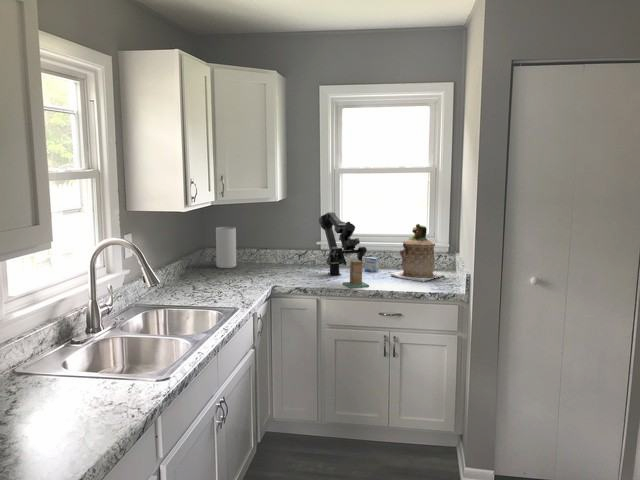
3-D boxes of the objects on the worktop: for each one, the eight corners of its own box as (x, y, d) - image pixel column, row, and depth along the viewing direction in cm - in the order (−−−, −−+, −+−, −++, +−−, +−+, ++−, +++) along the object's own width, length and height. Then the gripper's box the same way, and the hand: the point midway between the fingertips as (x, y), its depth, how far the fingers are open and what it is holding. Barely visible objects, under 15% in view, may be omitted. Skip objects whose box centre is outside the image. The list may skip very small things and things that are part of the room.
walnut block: (349, 282, 302) (350, 260, 300) (358, 282, 304) (358, 260, 302) (353, 284, 297) (353, 262, 296) (361, 284, 299) (362, 261, 297)
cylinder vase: (213, 268, 346) (212, 228, 343) (220, 264, 359) (219, 226, 355) (232, 268, 344) (232, 229, 341) (238, 265, 357) (238, 227, 353)
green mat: (342, 283, 304) (342, 282, 304) (360, 282, 308) (360, 280, 308) (350, 288, 294) (350, 286, 294) (369, 286, 298) (369, 285, 297)
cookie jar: (446, 276, 326) (448, 223, 322) (423, 283, 309) (425, 226, 304) (411, 270, 343) (413, 220, 339) (388, 276, 325) (389, 223, 321)
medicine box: (364, 271, 340) (364, 257, 339) (366, 270, 344) (367, 256, 343) (376, 272, 336) (376, 258, 335) (378, 271, 340) (379, 257, 339)
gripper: (335, 233, 301) (342, 257, 293) (365, 232, 308) (373, 255, 299) (329, 245, 310) (336, 268, 301) (359, 244, 316) (367, 266, 308)
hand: (353, 264), depth 302 cm, fingers open, 9 cm apart
